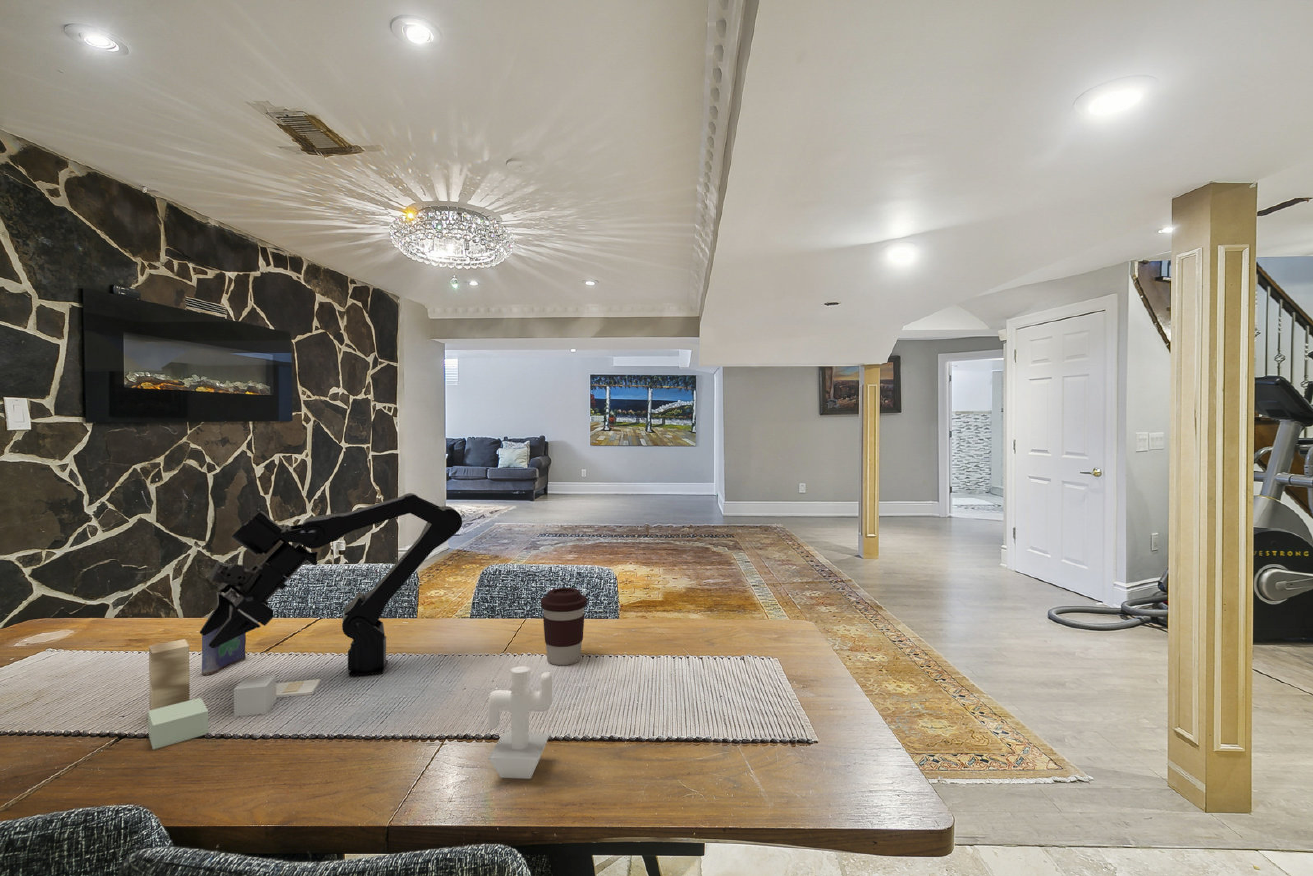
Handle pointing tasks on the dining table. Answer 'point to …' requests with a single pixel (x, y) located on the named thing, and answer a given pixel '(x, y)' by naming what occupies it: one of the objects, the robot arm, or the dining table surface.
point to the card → (296, 688)
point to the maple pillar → (168, 674)
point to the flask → (221, 653)
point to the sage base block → (177, 722)
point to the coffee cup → (563, 625)
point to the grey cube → (255, 695)
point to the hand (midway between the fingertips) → (205, 640)
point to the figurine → (519, 724)
